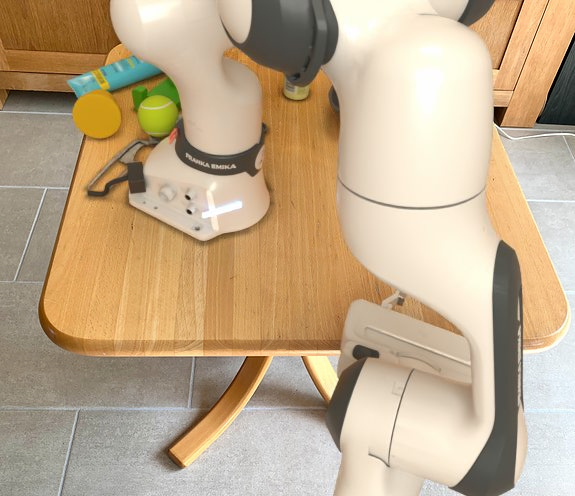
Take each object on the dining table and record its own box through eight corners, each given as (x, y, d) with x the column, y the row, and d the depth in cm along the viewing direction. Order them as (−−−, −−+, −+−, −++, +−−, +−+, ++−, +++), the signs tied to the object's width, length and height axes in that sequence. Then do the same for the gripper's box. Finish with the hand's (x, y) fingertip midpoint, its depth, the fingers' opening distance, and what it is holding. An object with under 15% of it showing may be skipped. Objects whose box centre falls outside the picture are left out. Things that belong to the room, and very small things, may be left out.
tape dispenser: (184, 71, 121) (182, 50, 118) (213, 83, 119) (212, 62, 116) (133, 108, 113) (129, 87, 109) (163, 123, 110) (161, 101, 107)
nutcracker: (84, 189, 99) (110, 200, 98) (83, 185, 98) (109, 197, 97) (140, 133, 109) (164, 142, 108) (140, 129, 108) (164, 139, 107)
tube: (172, 52, 115) (74, 89, 110) (178, 75, 119) (83, 112, 114) (157, 37, 120) (63, 72, 115) (163, 60, 124) (72, 94, 118)
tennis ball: (127, 100, 101) (146, 89, 107) (133, 140, 105) (151, 128, 111) (166, 102, 100) (183, 91, 106) (170, 144, 103) (187, 130, 109)
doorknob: (120, 96, 103) (70, 92, 101) (121, 140, 107) (73, 137, 106) (124, 80, 109) (77, 77, 108) (125, 122, 113) (79, 120, 112)
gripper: (506, 414, 67) (525, 318, 75) (330, 345, 71) (367, 262, 80) (488, 438, 72) (508, 345, 80) (324, 372, 76) (360, 291, 85)
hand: (437, 303), depth 80 cm, fingers open, 8 cm apart
